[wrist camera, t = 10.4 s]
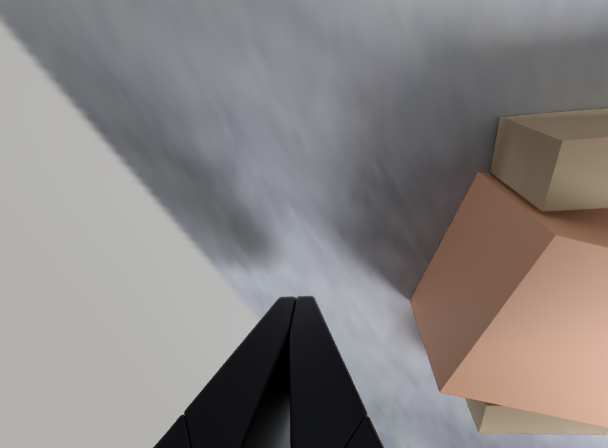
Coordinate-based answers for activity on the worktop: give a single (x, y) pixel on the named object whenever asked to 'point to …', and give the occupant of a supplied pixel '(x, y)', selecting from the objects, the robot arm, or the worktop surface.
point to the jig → (548, 197)
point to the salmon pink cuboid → (519, 305)
